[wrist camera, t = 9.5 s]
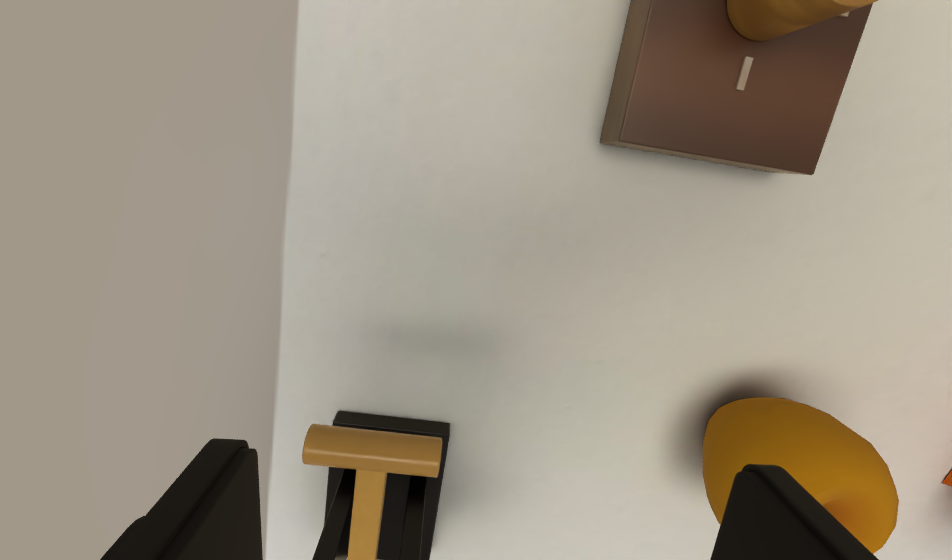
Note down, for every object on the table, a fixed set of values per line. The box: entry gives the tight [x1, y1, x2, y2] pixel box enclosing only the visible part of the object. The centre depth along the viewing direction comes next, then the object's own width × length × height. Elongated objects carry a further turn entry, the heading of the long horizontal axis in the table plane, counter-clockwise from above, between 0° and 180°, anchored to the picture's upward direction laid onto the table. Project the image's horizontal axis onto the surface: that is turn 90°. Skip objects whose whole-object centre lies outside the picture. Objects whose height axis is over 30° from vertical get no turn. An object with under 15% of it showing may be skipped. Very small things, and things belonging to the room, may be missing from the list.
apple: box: [703, 397, 899, 554], centre depth 25 cm, size 8×8×9 cm
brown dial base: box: [600, 0, 873, 175], centre depth 21 cm, size 14×10×3 cm
